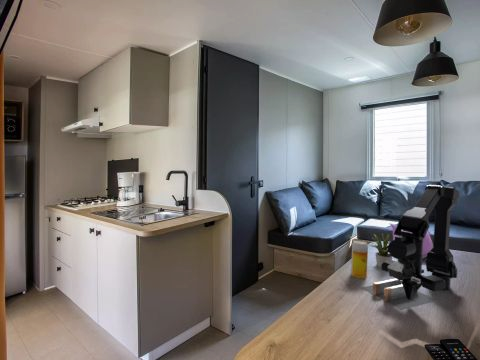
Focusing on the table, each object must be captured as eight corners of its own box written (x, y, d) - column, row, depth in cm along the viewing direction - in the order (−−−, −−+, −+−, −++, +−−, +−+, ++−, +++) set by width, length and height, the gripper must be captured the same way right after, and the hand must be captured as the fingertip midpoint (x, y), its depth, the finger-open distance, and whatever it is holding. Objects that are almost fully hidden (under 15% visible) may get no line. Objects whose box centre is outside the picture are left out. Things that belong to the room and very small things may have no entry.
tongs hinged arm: (409, 287, 106) (409, 276, 106) (421, 292, 102) (422, 281, 102) (374, 295, 99) (375, 284, 99) (386, 301, 95) (387, 289, 94)
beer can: (368, 281, 114) (369, 245, 113) (352, 279, 115) (353, 243, 114) (364, 275, 120) (366, 240, 119) (349, 274, 121) (350, 240, 120)
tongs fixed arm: (398, 288, 105) (398, 277, 105) (401, 289, 104) (401, 278, 104) (372, 294, 100) (372, 282, 100) (375, 295, 99) (376, 284, 99)
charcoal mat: (393, 283, 112) (394, 280, 112) (437, 302, 97) (437, 300, 97) (360, 290, 105) (360, 287, 105) (401, 312, 90) (401, 309, 90)
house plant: (405, 277, 119) (407, 239, 118) (369, 272, 123) (371, 235, 122) (399, 265, 132) (400, 231, 131) (367, 261, 137) (368, 228, 136)
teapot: (443, 256, 146) (445, 228, 145) (414, 261, 139) (416, 231, 138) (404, 244, 167) (405, 220, 166) (377, 248, 160) (378, 222, 159)
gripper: (370, 247, 97) (368, 291, 98) (423, 266, 80) (420, 318, 81) (393, 244, 101) (391, 286, 102) (448, 261, 84) (445, 311, 85)
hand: (409, 299), depth 92 cm, fingers closed
